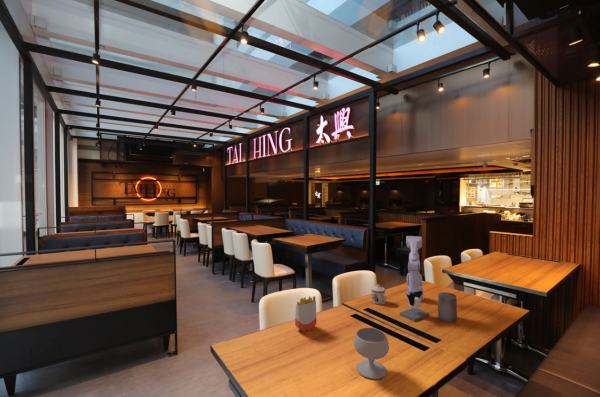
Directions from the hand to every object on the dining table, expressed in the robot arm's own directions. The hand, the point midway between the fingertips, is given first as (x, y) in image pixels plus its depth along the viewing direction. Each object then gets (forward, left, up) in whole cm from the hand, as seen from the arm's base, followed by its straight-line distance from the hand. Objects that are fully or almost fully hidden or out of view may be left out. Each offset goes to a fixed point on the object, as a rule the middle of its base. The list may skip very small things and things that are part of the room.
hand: (414, 304), depth 164 cm
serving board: (0, 0, -7) cm, 7 cm away
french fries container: (+63, -22, -7) cm, 67 cm away
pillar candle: (-12, +13, -7) cm, 19 cm away
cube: (0, 0, -2) cm, 2 cm away
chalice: (+59, +22, -7) cm, 63 cm away
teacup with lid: (+3, -24, -7) cm, 25 cm away
